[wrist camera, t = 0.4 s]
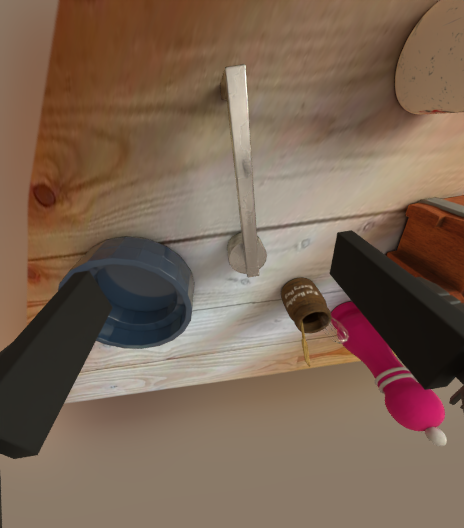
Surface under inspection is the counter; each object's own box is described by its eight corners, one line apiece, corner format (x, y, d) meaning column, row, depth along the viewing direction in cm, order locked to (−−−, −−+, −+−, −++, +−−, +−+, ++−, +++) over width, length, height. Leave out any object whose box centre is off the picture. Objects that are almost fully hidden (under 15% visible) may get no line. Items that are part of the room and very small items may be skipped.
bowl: (59, 244, 27) (25, 271, 22) (178, 225, 27) (172, 247, 22) (113, 324, 36) (97, 356, 31) (203, 309, 36) (202, 338, 31)
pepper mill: (323, 327, 42) (399, 459, 25) (331, 301, 38) (427, 438, 21) (357, 323, 42) (454, 451, 26) (369, 297, 38) (493, 428, 22)
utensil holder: (319, 292, 36) (361, 355, 26) (286, 308, 38) (315, 373, 28) (307, 270, 33) (349, 331, 23) (272, 288, 35) (298, 354, 25)
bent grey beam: (262, 259, 31) (275, 289, 25) (229, 264, 31) (234, 296, 25) (253, 79, 20) (272, 59, 14) (200, 87, 20) (198, 70, 14)
